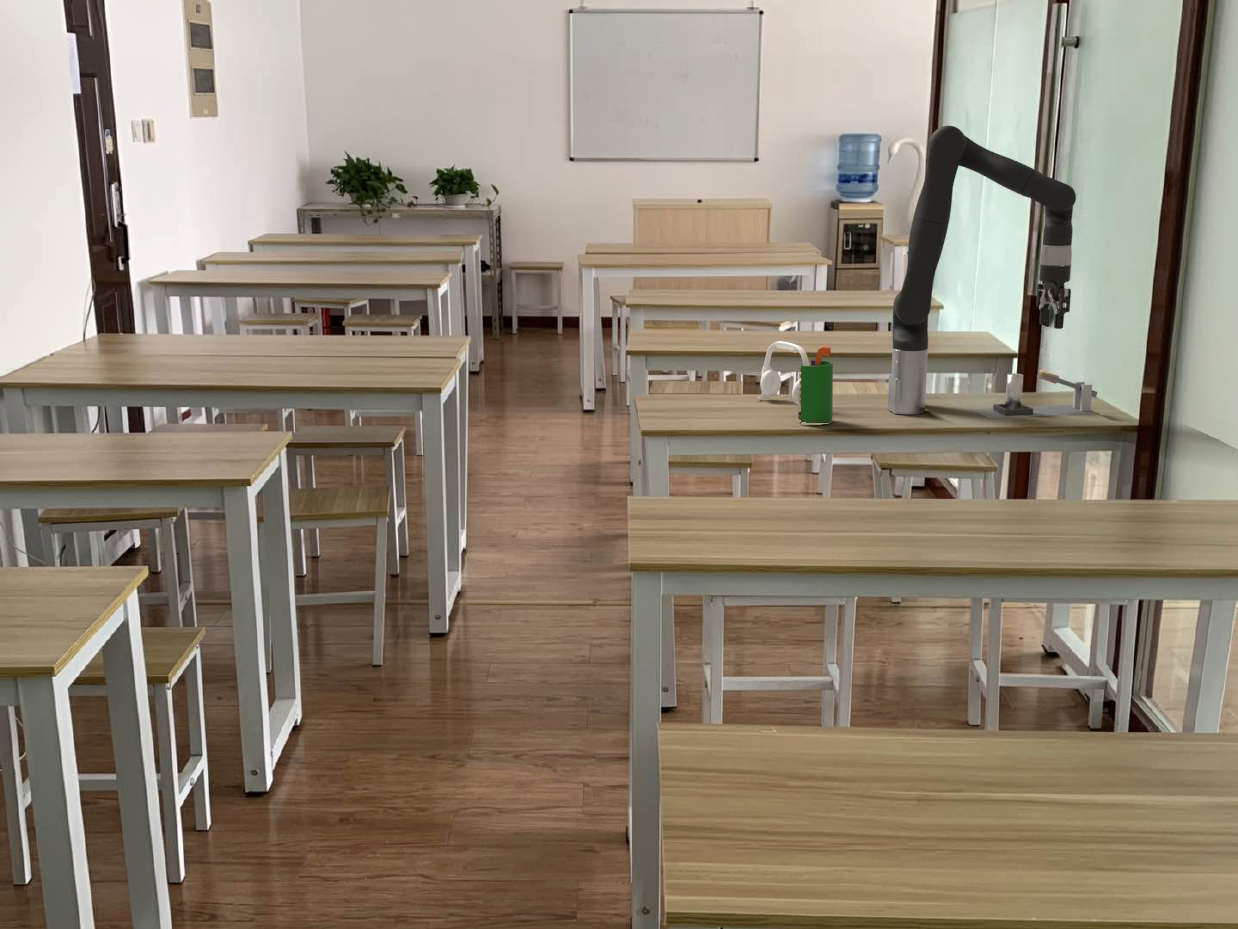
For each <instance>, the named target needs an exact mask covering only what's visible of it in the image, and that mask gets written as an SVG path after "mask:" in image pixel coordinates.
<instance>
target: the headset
mask: <svg viewBox="0 0 1238 929" xmlns="http://www.w3.org/2000/svg"><path fill="white" fill-rule="evenodd" d="M775 348H777V349H778V350H784V351H788V352H791V353H794V354H796V353H799V355H800V357H801V360H802V363H803V366H811V363H810V360H809V358H808V357H809V356H808V355H807V353H806V351H805V349H804V348H803V347H802V346H801V345H798V344H795V343H792V342H789V341H783V340H782V341H781V340H778V341H774V342H773V343H771V344H770V345H769V346H768V348H767V351H766V354H765V358H764V362H763V367H761V378H760V384H759V385H760V386H759V387H760V390H761V395H760V396H771V397H774V396H776V395H777V394H778V393H779V392H780V389H781V387H782V378H781V376H780V374H779V373H778V371H776V370H774V369H772V367H771V359H772V354H773V351H774V349H775ZM800 380H801V378H799V379H798V380H797V381H796V382H795V383H794V385H793V387H792V392H791V393H792V396H791V397H792V400H793V402H795V404H797V405H799V406H801V404H800V403H799V400H801V398H800V397H799V394H800V393H801V391H800V390H799V388H800V387H801V385H800V384H799V381H800ZM760 396H758V397H757V398H767V399H769V398H770V397H760Z"/></svg>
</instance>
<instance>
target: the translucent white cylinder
mask: <svg viewBox="0 0 1238 929" xmlns="http://www.w3.org/2000/svg"><path fill="white" fill-rule="evenodd" d="M1023 383H1024V374H1022V373H1015V372H1012V373H1007V374H1006V386H1005V388H1006V389H1005V402H1004V404H1005V409H1021V404H1022V399H1023V385H1024V384H1023Z"/></svg>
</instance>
